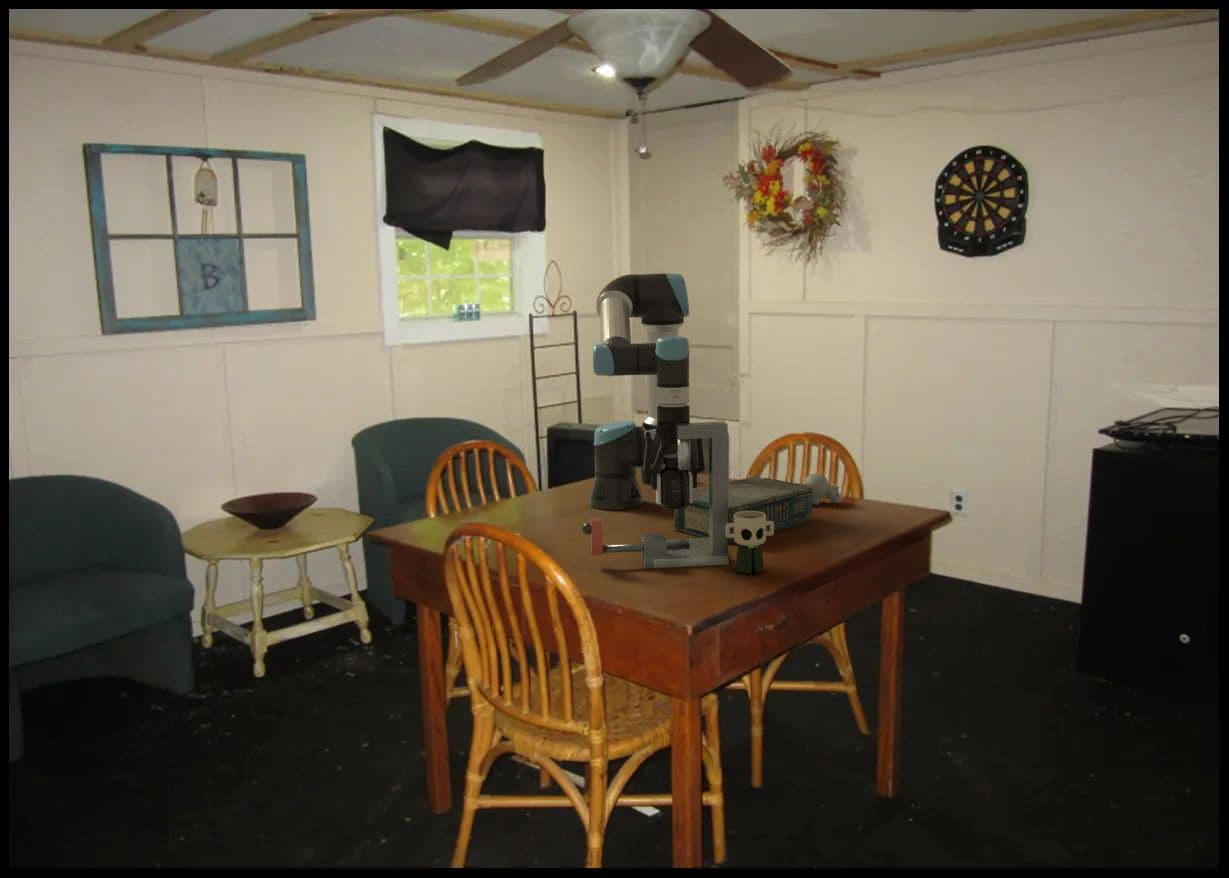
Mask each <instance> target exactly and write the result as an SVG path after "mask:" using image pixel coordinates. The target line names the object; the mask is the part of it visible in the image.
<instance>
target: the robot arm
mask: <svg viewBox="0 0 1229 878" xmlns="http://www.w3.org/2000/svg"><path fill="white" fill-rule="evenodd" d="M596 314H597V315H598V317H599V318H600V343H599V344H595V345H594V346H593V347H592V365H593V367H592V368H593V370H592V371H593V373H594V375H595V376H599V377H600V376H602V377H605V376H606V377H616V376H617V377H618V376H621V377H622V376H647V407H648V408H647V415H646V416H645V417H644V418H643V419H642V426H641V425H640V426H636V425H637V424H636V422H635V421H634V420H633V421H632V420H627V421H626V420H622V421H614V422H609V423H605V424H602V425H600V426H598V427H596V429H595V431H594V442H593V446H594V480H593V481H594V482H593V484H592V488H591V492H590V495H589V505H590V506H591V507H592V508H595V509H599V510H606V511H607V510H611V511H614V510H615V511H616V510H617V511H619V510H620V511H622V510H630V509H635V508H639V507H640V506H642V505H643V503H644V502H643V496H644V495H643V493H642V490H641V488H640V485H639V482H638V478H637V468H641V467H643V470H644V472H645V473H646V474H649V475H651V485H650V486H651V489H652V490H655V499H656V500H655V502H656V504H657V505H660V504H661V477H660V475H659V474H658V471H659V468H660V467H664V464H663V462H664V461H663V457H664V456H665V455H672V454H678V438H677V437H676V423H691V422H690V421H691V420H690V419H691V418H690V416H691V415H690V414H691V411H690V410H691V409H690V408H691V407H690V406H689V403H690V354H691V352H690V351H691V350H690V344H689V343H690V342H689V339H688V338H687V337H684V336H679V330H680V328H682V326H683V325H684V323H685V321H684V320H685V318H688V317H689V316H690V307H689V297H688V290H687V285H686V281H685V278H684V277H683V275H682V274H679V273H668V272H665V273H663V272H662V273H643V274H642V273H641V274H640V273H639V274H637V273H636V274H633V273H632V274H630V273H629V274H625V275H622V276H618V277H616V278H615V279H613V280H611V281H610V282H609V283H607V284H606V285H605V286H604V287H603V289H602V290H601V291H600V292H599V294H598V296H597V299H596ZM630 318H635V319H636V318H640V320H641V325H642V326H643V327H644V328H645V330H646V339H647V340H646V341H647V342H645V343H632V338H631V337H632V336H631V320H630ZM694 444H695V454H696V463H697V466H696V464H695V461H694V460H693V457H692V454H691V453H690V469H689V470H690V472H689V503H693V490H694V489H697V487H698V474H700V473H701V472H702V473H703V472H705V470H706V467H705V458H704V449H703V438H699V439H694ZM650 467H652V469H650Z"/></svg>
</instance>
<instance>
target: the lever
mask: <svg viewBox="0 0 1229 878" xmlns="http://www.w3.org/2000/svg"><path fill="white" fill-rule="evenodd" d="M581 532H582V533H583V534H585V535H590V547H591V549H590V552H591V556H593V557H594V556H596V557H597V556H603V555H604V554H618V553H619V554H620V553H622V554H624V553H642V552H644V544H642V543H626V544H607V545H604V544H603V520H602V517H596V518H590V522H585V523H583V524H582V526H581ZM689 548H690V545H689V541H687V542H667V550H686V549H689Z"/></svg>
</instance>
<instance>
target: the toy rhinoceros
mask: <svg viewBox="0 0 1229 878" xmlns="http://www.w3.org/2000/svg"><path fill="white" fill-rule="evenodd" d="M802 484H804V485H810V486H811V487H812V506H813V505H814V506H817V507H818V506H819V505H820V503H821V499H822V498H824V497H825V498H826V500H830V501H831V502H832V503H833V504H839V503H840V502H841V500H842V499H843V498H844V493H842V494H840V491H839V490H840V489H839V488H840V486H839V485H838V483H834V484H829V480H828V479H827V477H826V476H824V475H823V474H821V473H817V472H816V473H811V474H808V475H807V476H805V477H804V480H803V482H802Z"/></svg>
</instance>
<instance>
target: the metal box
mask: <svg viewBox="0 0 1229 878" xmlns="http://www.w3.org/2000/svg"><path fill="white" fill-rule="evenodd" d="M673 510H674V520H673V529H674V531H677V532H684V533H686V534H688V535H691V536H696V537H698V538H703V537H709V485H708V486H704V487H700V488H694V489H693V503H689V506H688V507H686V508H682V509H673ZM739 511H759V512H763V513H765V514H766V521H773V522H774V533H776V532H779V531H783V530H786V528H787V529H790V527H791V528H794V527H797V525H798V526H801V525H803V524H807V522H808V523H811V522H812V521H813V504H812V487H811V486H810V485H804V484H803V483H798V482H797V483H795V482H791V481H786V480H781V479H775V478H774V479H773V478H768V477H760V476H758V475H757V476H756V475H755V476H750V477H746V478H742V479H737V480H733V481H728V523H734V513H736V512H739ZM810 521H811V522H810ZM800 524H801V525H800ZM793 526H794V527H793ZM782 529H783V530H782ZM767 531H770V525H766V532H767ZM775 531H776V532H775ZM733 533H734V527H730V534H733ZM729 544H731V545H733V544H737V543H736V542H735V541H734V538H728V545H729Z"/></svg>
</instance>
